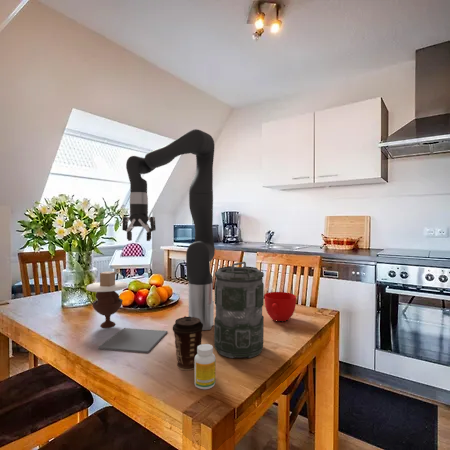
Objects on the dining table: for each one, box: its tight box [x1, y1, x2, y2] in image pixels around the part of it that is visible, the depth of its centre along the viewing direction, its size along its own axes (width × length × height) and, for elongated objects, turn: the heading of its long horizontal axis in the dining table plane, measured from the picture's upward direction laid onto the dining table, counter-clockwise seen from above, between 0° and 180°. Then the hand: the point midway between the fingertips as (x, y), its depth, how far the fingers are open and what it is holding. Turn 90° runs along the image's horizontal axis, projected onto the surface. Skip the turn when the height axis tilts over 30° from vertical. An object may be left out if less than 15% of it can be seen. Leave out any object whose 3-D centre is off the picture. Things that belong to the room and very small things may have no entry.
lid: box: [86, 270, 129, 293], centre depth 118 cm, size 15×15×6 cm
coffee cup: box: [172, 315, 203, 371], centre depth 87 cm, size 9×8×13 cm
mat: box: [97, 327, 168, 354], centre depth 104 cm, size 17×17×1 cm
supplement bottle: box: [193, 343, 216, 390], centre depth 77 cm, size 5×5×10 cm
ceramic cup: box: [264, 291, 297, 322], centre depth 124 cm, size 13×17×10 cm
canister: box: [213, 261, 265, 359], centre depth 97 cm, size 16×16×28 cm
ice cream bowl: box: [91, 291, 124, 329], centre depth 118 cm, size 11×11×15 cm
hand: (139, 240), depth 131 cm, fingers open, 8 cm apart
